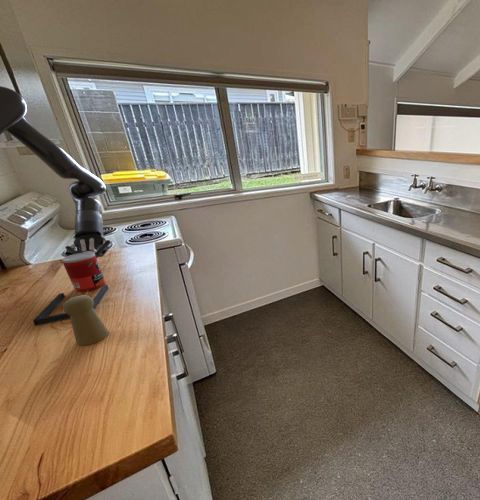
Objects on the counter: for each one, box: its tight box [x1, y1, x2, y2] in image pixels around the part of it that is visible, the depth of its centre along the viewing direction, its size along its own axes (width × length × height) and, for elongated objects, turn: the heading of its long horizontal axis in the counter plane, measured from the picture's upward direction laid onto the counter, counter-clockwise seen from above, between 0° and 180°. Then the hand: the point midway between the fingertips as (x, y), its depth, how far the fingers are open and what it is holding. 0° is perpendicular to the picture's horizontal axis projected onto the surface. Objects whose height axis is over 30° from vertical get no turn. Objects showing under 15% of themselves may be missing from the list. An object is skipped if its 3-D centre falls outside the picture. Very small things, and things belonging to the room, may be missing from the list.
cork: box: [62, 294, 110, 347], centre depth 67 cm, size 6×6×11 cm
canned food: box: [61, 252, 106, 293], centre depth 92 cm, size 8×8×11 cm
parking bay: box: [32, 284, 110, 326], centre depth 83 cm, size 12×16×2 cm
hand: (90, 268), depth 96 cm, fingers closed
